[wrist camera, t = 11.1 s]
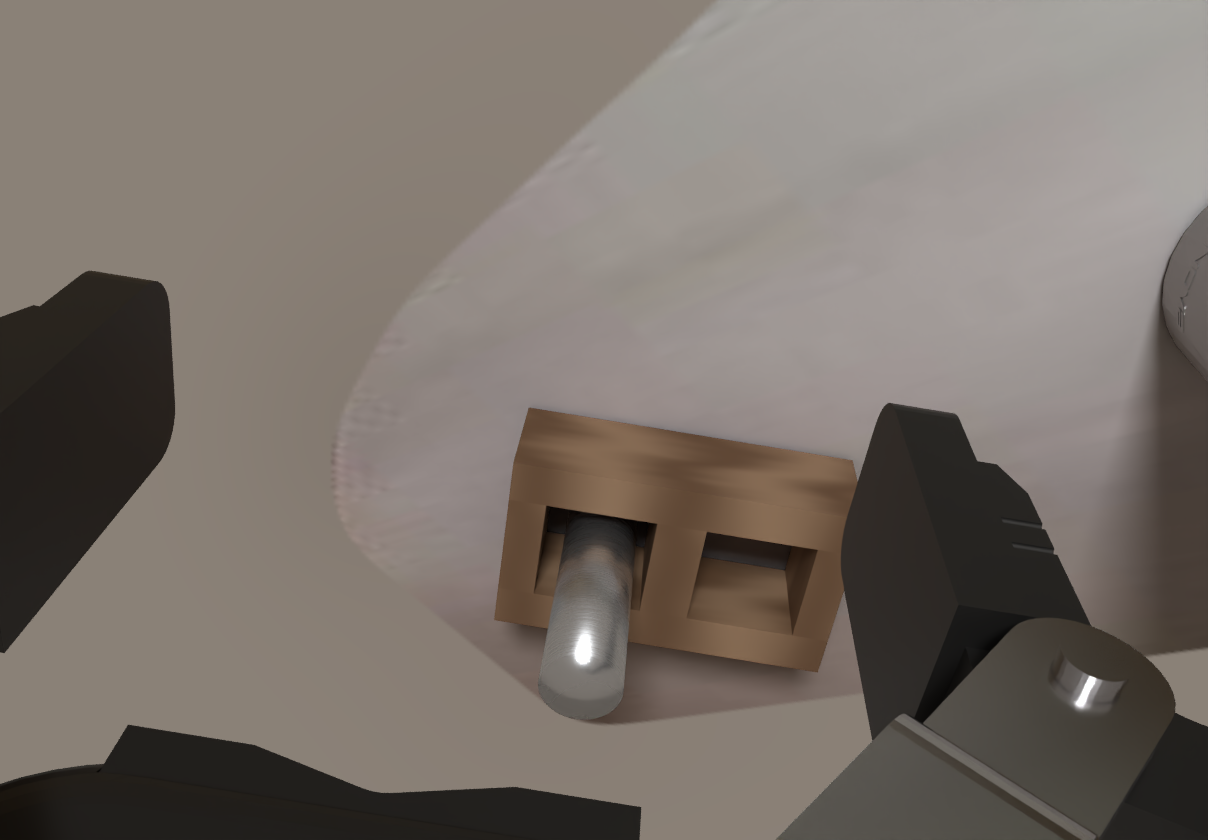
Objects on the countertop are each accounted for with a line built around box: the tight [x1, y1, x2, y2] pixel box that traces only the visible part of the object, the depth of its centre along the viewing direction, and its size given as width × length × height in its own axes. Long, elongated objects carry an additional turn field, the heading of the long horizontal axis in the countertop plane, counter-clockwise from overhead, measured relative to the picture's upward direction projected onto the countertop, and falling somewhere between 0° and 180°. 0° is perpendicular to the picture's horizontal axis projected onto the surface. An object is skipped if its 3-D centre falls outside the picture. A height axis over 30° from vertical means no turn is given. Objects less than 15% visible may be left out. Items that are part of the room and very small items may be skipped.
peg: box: [538, 510, 638, 720], centre depth 44 cm, size 3×3×12 cm
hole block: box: [494, 408, 858, 672], centre depth 47 cm, size 14×8×4 cm, turn 82°
